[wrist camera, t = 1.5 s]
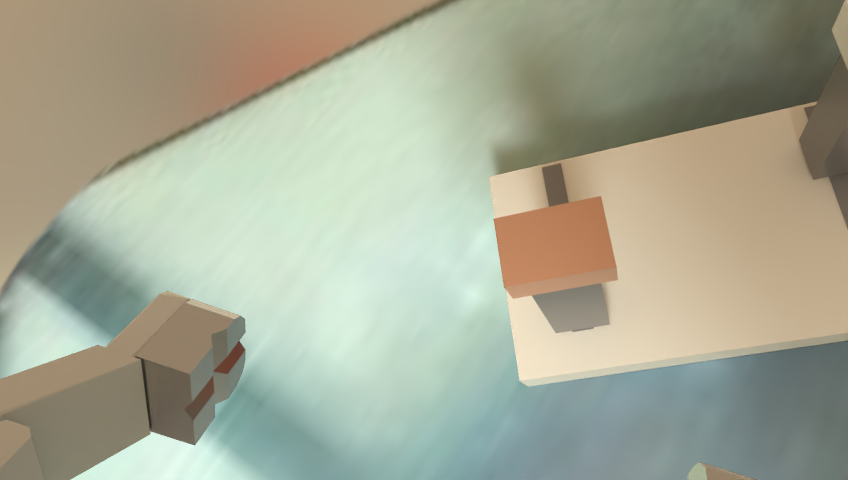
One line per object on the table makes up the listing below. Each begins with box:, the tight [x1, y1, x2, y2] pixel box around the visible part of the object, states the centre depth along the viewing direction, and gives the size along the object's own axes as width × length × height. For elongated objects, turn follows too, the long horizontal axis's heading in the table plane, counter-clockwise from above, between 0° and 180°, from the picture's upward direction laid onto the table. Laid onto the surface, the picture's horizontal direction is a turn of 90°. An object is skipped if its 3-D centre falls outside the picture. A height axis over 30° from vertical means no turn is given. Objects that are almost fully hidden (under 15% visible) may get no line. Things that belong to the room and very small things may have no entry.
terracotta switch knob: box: [494, 196, 618, 333], centre depth 31 cm, size 3×4×12 cm
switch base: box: [489, 101, 848, 386], centre depth 37 cm, size 13×23×3 cm, turn 96°
